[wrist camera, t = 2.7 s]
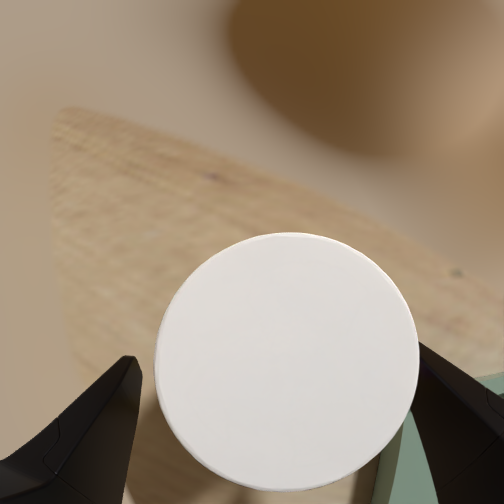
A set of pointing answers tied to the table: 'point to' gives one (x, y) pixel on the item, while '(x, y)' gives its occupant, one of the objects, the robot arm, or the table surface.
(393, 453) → the tub
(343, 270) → the supplement bottle
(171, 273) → the table surface
